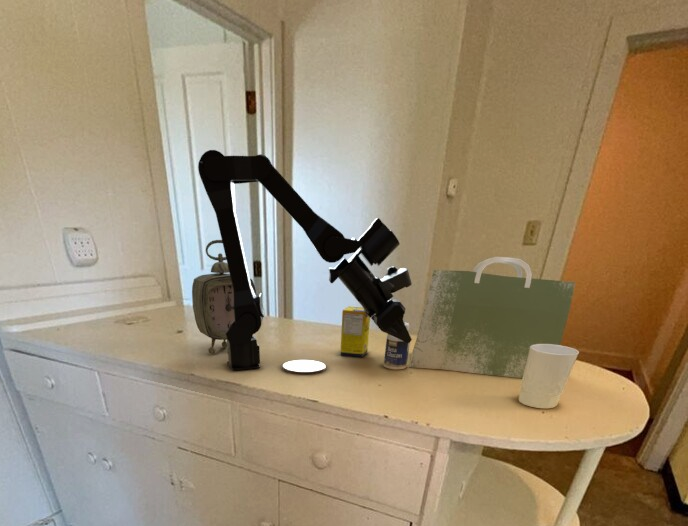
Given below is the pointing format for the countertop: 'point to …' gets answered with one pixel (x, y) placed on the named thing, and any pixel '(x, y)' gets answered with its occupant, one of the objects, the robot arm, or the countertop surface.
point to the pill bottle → (396, 352)
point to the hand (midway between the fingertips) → (405, 337)
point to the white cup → (546, 374)
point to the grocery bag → (489, 319)
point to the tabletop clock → (214, 300)
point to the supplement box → (354, 331)
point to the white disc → (304, 367)
